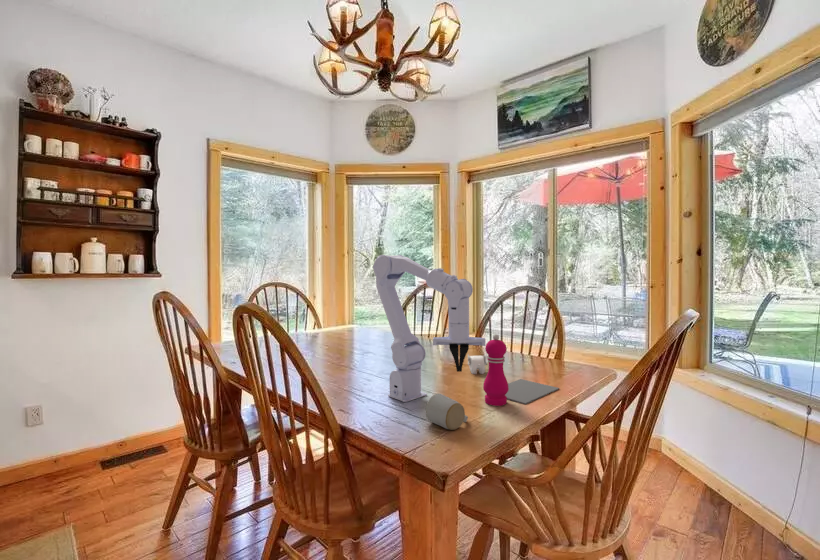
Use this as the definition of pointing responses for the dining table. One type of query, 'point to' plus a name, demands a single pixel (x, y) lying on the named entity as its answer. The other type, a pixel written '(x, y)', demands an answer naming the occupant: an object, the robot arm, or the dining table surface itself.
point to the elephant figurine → (477, 363)
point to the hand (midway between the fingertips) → (459, 370)
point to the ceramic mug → (445, 412)
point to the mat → (527, 391)
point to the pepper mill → (495, 373)
